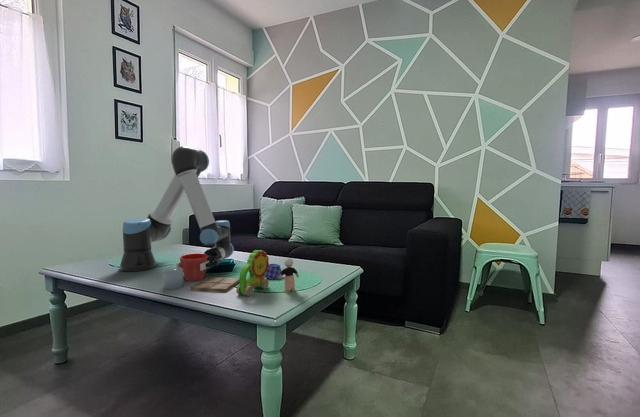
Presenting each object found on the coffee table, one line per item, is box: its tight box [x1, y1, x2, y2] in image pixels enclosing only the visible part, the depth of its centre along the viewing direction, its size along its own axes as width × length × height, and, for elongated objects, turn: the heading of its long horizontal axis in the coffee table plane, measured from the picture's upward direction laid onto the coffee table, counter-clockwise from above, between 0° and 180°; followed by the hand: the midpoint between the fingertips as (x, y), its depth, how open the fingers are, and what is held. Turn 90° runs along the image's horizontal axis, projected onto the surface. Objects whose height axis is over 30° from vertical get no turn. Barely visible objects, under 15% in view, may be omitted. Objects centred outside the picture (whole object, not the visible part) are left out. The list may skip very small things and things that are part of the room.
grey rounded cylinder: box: [162, 266, 184, 291], centre depth 129 cm, size 7×7×7 cm
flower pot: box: [179, 252, 208, 282], centre depth 141 cm, size 11×11×10 cm
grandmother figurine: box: [279, 257, 300, 294], centre depth 124 cm, size 8×4×13 cm, turn 123°
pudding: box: [265, 263, 285, 280], centre depth 145 cm, size 12×12×5 cm
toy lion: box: [236, 249, 270, 297], centre depth 125 cm, size 16×5×15 cm, turn 155°
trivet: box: [190, 276, 239, 293], centre depth 131 cm, size 14×14×1 cm
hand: (188, 266), depth 137 cm, fingers closed on flower pot, 10 cm apart
